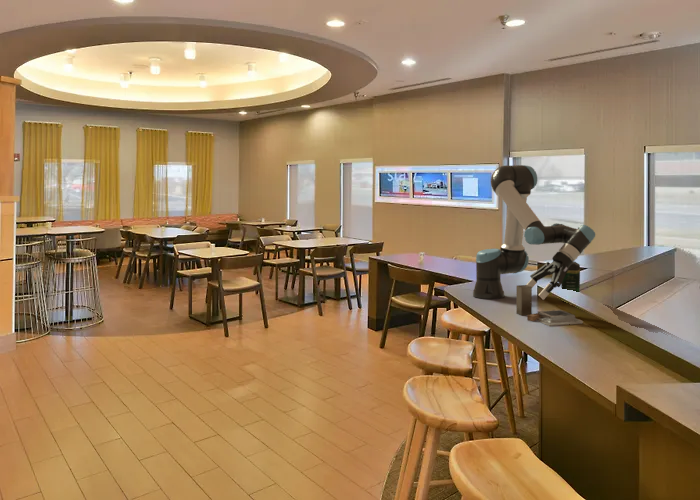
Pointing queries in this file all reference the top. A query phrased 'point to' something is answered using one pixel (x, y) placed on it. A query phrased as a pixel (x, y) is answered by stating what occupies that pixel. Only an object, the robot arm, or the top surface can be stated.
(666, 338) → the top surface
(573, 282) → the coffee jar
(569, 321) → the keeper
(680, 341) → the top surface
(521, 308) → the stop bar
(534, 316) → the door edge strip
